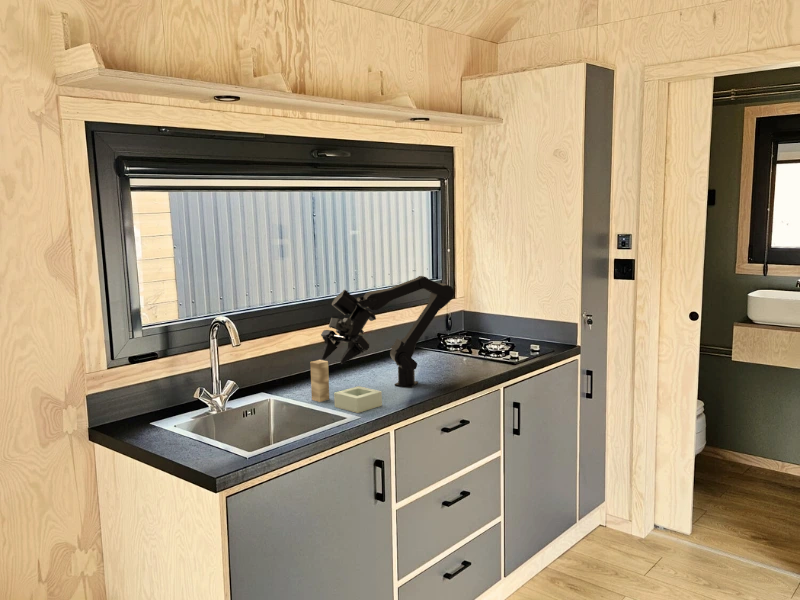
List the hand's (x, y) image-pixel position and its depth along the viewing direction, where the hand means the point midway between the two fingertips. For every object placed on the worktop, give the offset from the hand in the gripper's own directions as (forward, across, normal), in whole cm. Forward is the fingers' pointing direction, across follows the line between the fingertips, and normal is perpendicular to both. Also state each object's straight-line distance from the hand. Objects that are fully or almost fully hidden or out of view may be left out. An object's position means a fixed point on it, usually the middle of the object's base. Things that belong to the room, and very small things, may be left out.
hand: (331, 361), depth 233 cm
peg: (+12, 0, +4) cm, 13 cm away
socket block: (+10, +15, +6) cm, 19 cm away
